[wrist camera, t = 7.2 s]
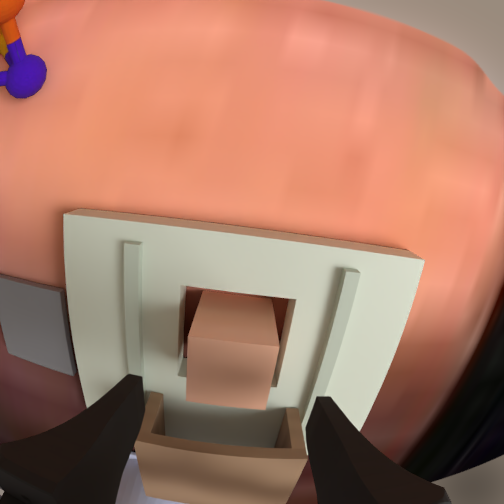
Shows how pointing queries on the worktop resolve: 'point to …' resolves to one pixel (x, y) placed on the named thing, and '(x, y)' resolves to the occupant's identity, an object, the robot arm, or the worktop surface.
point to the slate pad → (36, 323)
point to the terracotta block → (232, 351)
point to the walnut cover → (217, 464)
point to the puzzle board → (241, 281)
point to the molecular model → (18, 55)
